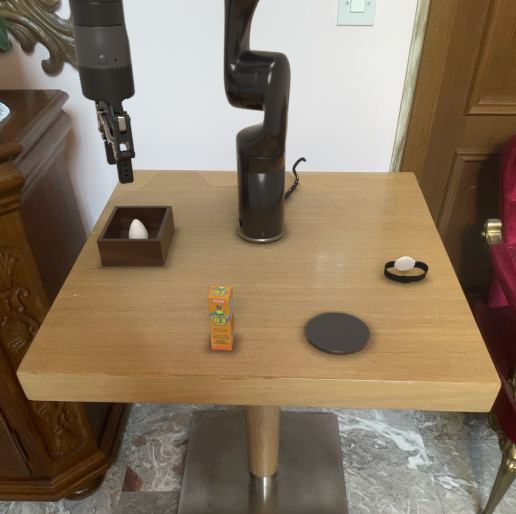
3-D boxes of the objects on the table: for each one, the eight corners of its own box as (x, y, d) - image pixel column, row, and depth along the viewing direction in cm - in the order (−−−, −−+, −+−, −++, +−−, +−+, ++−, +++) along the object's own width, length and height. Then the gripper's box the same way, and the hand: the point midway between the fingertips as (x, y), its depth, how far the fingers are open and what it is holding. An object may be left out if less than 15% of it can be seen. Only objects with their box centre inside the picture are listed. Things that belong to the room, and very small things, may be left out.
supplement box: (210, 351, 79) (205, 296, 73) (215, 336, 82) (210, 282, 75) (232, 352, 79) (229, 297, 72) (236, 338, 82) (233, 284, 75)
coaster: (314, 310, 87) (314, 307, 87) (374, 321, 84) (374, 318, 84) (297, 347, 80) (297, 344, 79) (363, 360, 77) (363, 357, 77)
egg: (129, 250, 102) (124, 224, 99) (131, 241, 105) (127, 215, 102) (148, 249, 102) (144, 224, 99) (150, 240, 105) (146, 215, 102)
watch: (423, 270, 96) (427, 253, 94) (428, 284, 93) (433, 266, 90) (381, 270, 96) (383, 252, 94) (385, 284, 93) (388, 266, 91)
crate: (119, 229, 110) (114, 205, 106) (174, 229, 109) (171, 205, 106) (102, 266, 98) (96, 240, 95) (163, 266, 98) (160, 240, 95)
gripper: (143, 69, 70) (155, 186, 80) (119, 48, 80) (132, 155, 90) (86, 73, 68) (106, 193, 78) (68, 51, 77) (88, 160, 88)
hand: (120, 172), depth 84 cm, fingers open, 8 cm apart
